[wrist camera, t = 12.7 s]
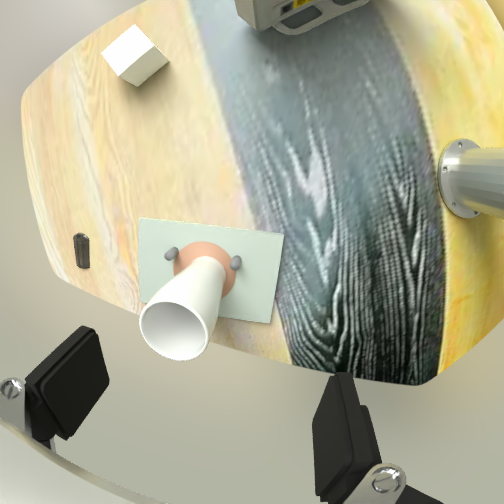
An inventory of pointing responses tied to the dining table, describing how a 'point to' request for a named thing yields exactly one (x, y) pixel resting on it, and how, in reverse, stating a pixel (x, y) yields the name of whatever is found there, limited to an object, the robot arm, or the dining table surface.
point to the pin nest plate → (221, 248)
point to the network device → (288, 13)
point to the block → (81, 250)
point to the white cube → (134, 56)
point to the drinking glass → (185, 311)
